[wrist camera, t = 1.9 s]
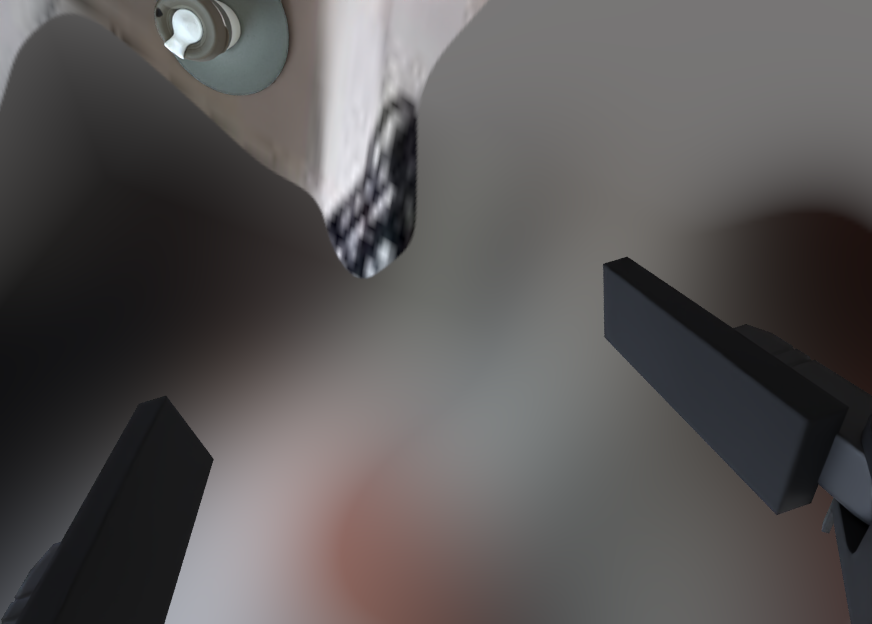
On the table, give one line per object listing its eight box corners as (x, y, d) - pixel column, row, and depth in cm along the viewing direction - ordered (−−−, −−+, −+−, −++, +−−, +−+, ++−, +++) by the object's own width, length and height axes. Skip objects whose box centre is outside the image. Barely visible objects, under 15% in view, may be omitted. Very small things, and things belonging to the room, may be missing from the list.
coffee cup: (350, -18, 26) (336, -24, 22) (280, 161, 32) (258, 183, 27) (134, -169, 22) (68, -210, 18) (98, 64, 28) (42, 72, 24)
